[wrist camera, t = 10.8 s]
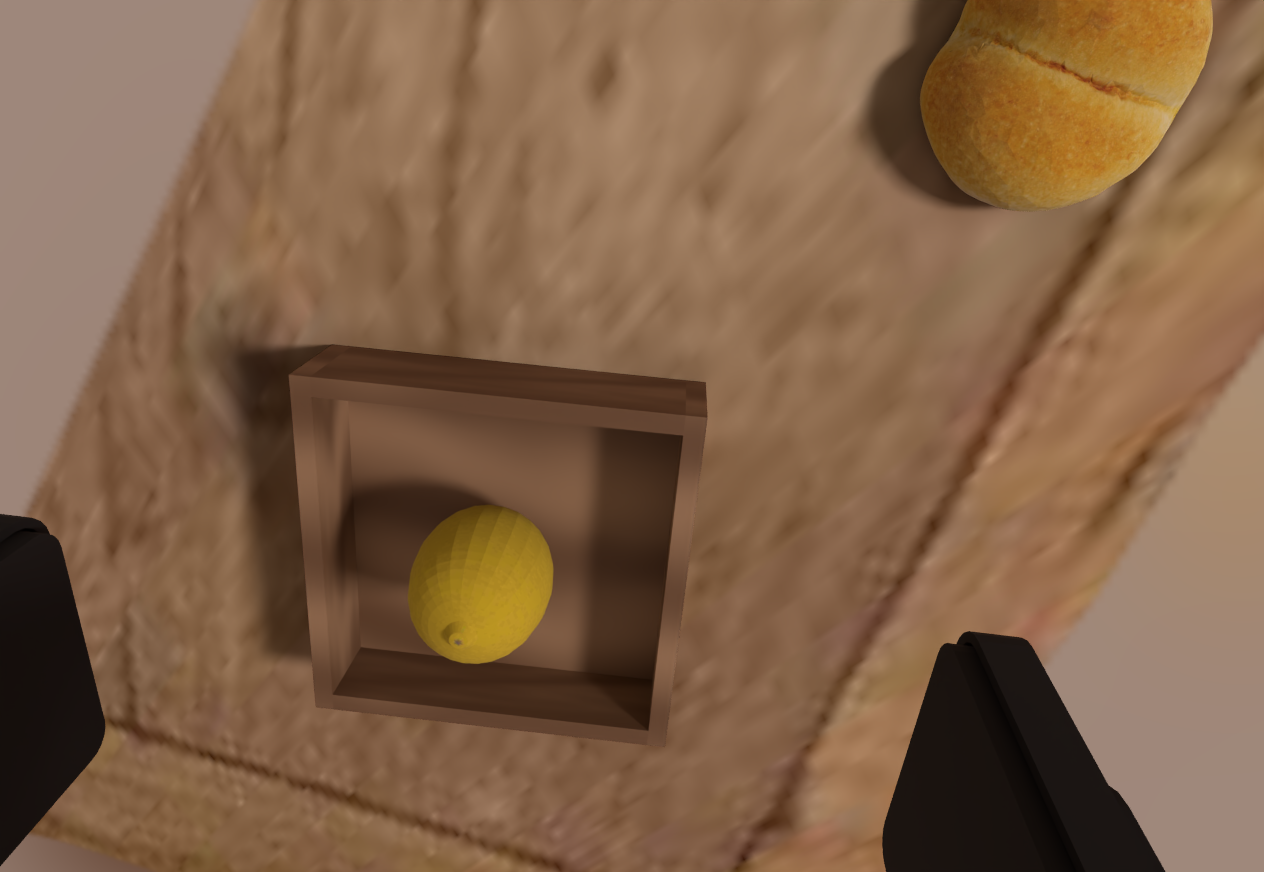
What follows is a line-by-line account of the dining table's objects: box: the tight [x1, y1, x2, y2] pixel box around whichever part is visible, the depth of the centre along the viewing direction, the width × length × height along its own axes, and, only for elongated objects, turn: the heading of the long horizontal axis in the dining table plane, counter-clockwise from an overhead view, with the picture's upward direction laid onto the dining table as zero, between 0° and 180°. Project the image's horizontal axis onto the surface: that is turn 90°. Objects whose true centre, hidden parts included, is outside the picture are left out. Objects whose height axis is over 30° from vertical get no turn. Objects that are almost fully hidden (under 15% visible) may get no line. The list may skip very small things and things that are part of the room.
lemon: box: [408, 505, 553, 664], centre depth 33 cm, size 6×6×8 cm
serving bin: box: [289, 345, 707, 747], centre depth 35 cm, size 16×16×4 cm
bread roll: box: [920, 0, 1213, 212], centre depth 27 cm, size 8×9×4 cm
